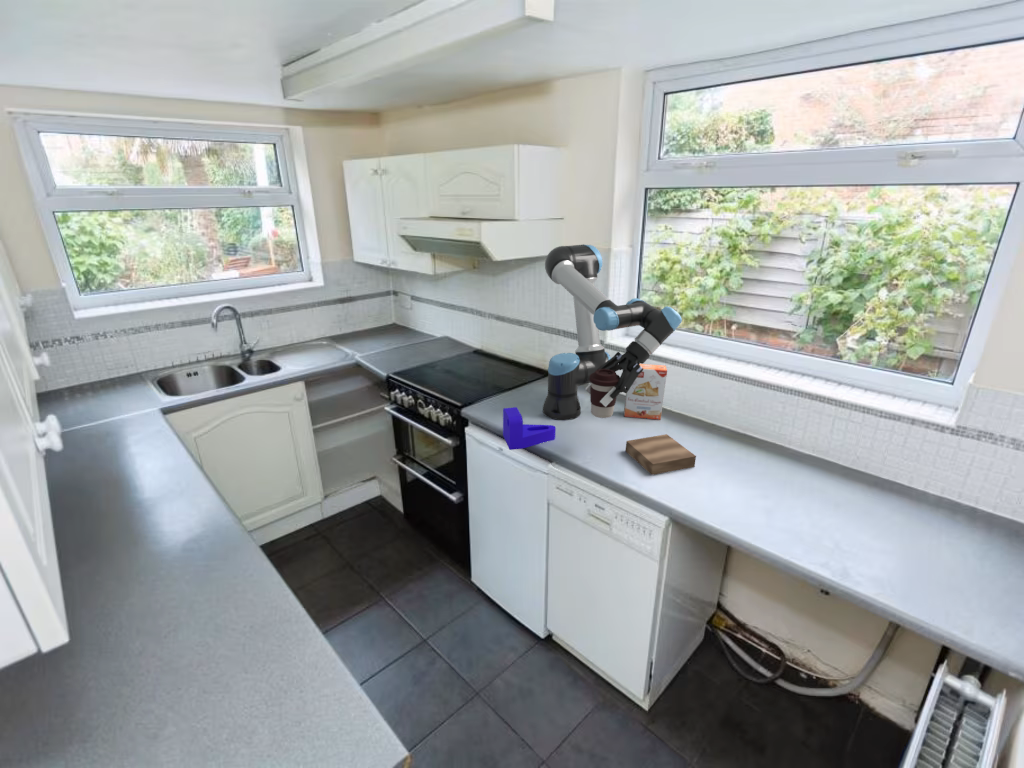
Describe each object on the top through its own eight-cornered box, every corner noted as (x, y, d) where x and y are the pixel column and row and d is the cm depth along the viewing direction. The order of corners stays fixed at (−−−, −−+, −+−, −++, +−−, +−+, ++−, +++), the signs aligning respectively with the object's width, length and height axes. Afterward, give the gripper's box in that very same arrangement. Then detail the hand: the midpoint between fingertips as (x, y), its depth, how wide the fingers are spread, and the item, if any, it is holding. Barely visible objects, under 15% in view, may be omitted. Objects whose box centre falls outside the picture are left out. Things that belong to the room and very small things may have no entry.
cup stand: (625, 451, 173) (626, 440, 171) (665, 444, 177) (666, 434, 176) (651, 475, 158) (653, 464, 157) (694, 466, 163) (696, 456, 162)
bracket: (509, 450, 173) (509, 419, 169) (503, 435, 183) (503, 406, 179) (559, 444, 177) (561, 414, 173) (550, 431, 187) (551, 401, 182)
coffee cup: (586, 419, 165) (589, 376, 159) (587, 406, 174) (590, 365, 168) (616, 421, 163) (621, 378, 158) (616, 409, 172) (620, 368, 167)
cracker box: (624, 417, 197) (629, 367, 190) (623, 411, 203) (628, 362, 195) (661, 420, 195) (667, 369, 187) (659, 414, 201) (666, 364, 193)
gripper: (668, 366, 156) (618, 418, 157) (630, 344, 176) (586, 391, 177) (655, 351, 153) (604, 405, 154) (618, 331, 172) (573, 379, 174)
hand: (595, 397), depth 165 cm, fingers closed on coffee cup, 10 cm apart
